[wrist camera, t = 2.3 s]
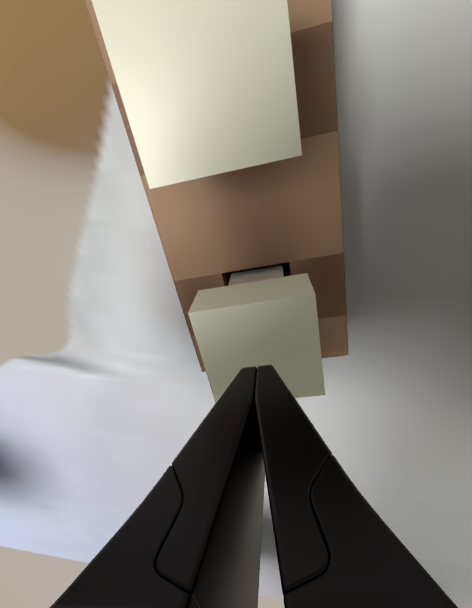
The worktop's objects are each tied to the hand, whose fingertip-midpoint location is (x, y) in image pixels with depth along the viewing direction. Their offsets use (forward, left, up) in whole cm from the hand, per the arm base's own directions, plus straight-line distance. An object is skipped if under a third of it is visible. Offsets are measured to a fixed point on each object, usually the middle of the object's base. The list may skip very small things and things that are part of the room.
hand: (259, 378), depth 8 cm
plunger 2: (0, 0, -6) cm, 6 cm away
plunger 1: (0, +7, -6) cm, 9 cm away
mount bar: (0, +4, -8) cm, 9 cm away
